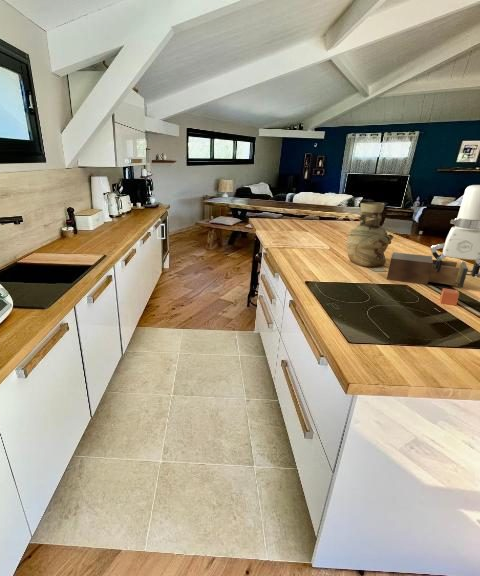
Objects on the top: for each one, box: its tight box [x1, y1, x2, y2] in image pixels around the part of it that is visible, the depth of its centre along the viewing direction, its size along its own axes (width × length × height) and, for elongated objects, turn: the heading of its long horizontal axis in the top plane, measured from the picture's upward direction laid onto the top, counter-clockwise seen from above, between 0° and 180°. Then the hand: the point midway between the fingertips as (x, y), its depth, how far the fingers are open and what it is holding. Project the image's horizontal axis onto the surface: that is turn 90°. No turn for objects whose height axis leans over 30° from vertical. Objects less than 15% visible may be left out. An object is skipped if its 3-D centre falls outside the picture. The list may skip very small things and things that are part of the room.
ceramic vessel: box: [346, 202, 394, 268], centre depth 157 cm, size 19×21×30 cm
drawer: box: [428, 258, 480, 289], centre depth 129 cm, size 18×11×8 cm, turn 56°
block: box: [439, 287, 460, 307], centre depth 112 cm, size 4×4×4 cm
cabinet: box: [386, 251, 434, 286], centre depth 137 cm, size 15×13×10 cm
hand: (454, 273), depth 109 cm, fingers open, 9 cm apart
